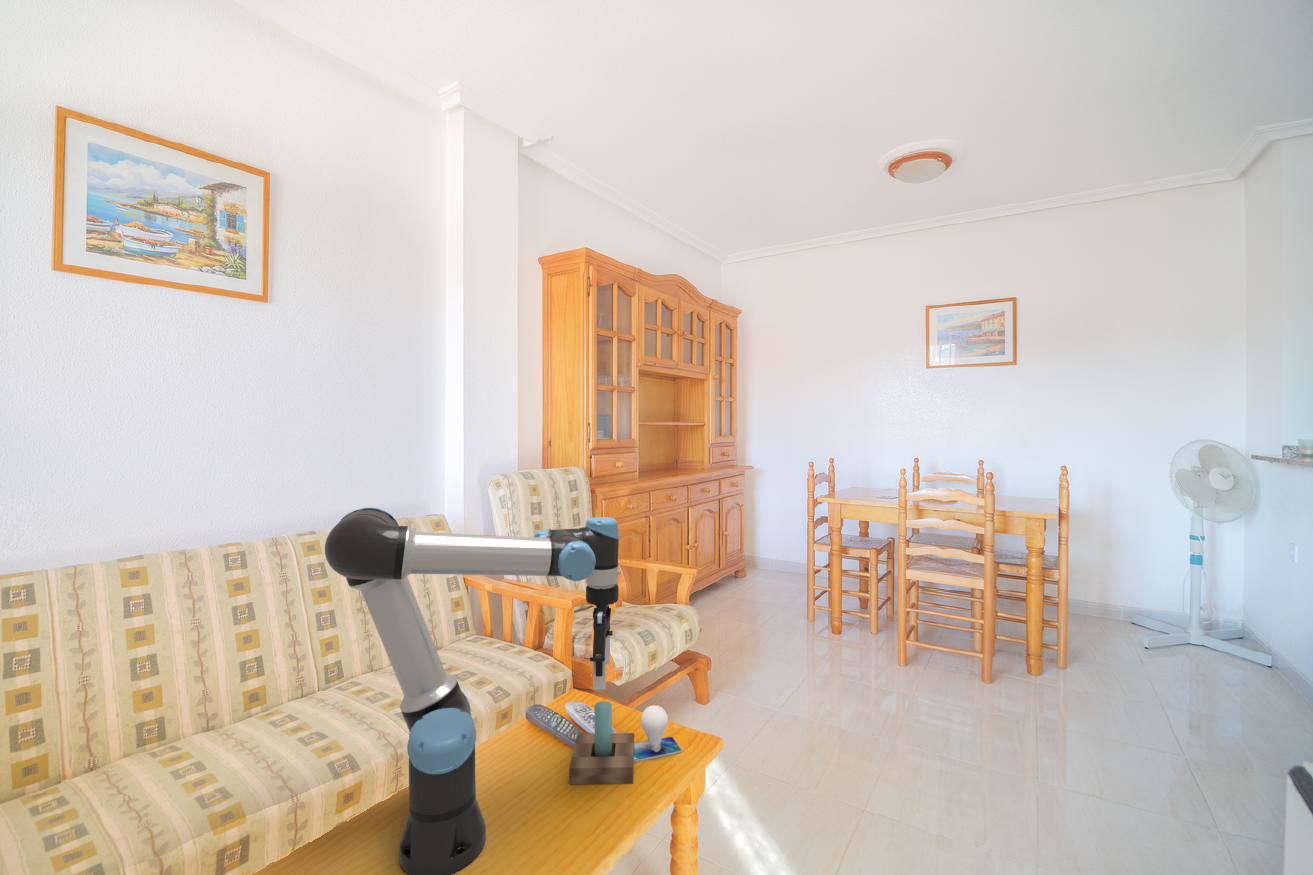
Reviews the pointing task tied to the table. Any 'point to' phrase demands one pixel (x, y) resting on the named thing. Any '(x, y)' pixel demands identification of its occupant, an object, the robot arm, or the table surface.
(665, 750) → the smartphone
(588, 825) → the table surface
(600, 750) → the peg
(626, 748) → the socket block
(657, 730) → the light bulb
